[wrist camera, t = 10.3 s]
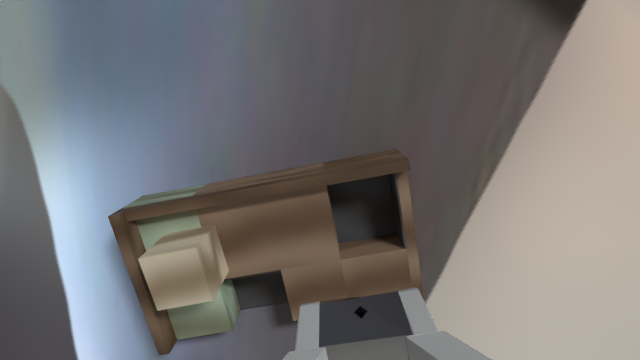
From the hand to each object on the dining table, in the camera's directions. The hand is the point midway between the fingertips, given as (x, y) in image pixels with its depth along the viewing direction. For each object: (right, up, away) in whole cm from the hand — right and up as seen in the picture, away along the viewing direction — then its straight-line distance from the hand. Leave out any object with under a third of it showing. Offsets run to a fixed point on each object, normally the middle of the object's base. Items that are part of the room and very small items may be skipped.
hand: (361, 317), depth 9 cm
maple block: (-13, -4, +25) cm, 28 cm away
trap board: (-5, -3, +29) cm, 29 cm away
